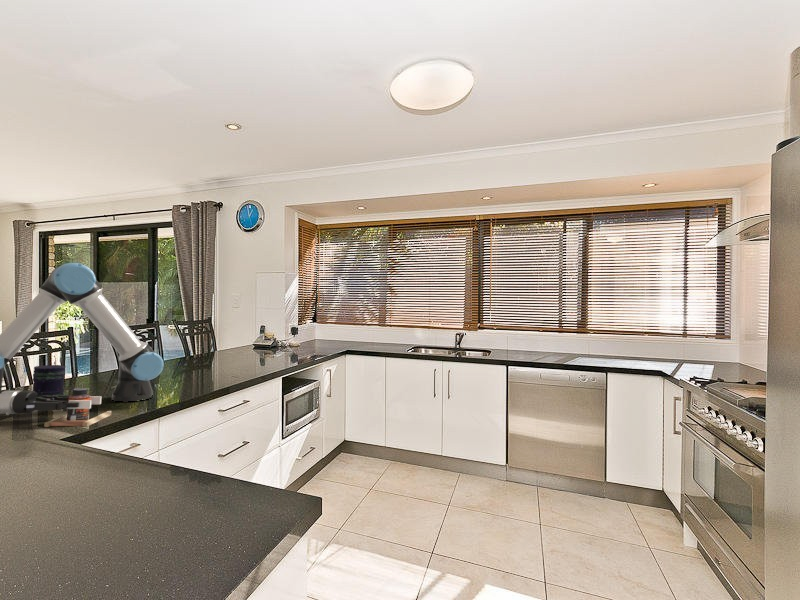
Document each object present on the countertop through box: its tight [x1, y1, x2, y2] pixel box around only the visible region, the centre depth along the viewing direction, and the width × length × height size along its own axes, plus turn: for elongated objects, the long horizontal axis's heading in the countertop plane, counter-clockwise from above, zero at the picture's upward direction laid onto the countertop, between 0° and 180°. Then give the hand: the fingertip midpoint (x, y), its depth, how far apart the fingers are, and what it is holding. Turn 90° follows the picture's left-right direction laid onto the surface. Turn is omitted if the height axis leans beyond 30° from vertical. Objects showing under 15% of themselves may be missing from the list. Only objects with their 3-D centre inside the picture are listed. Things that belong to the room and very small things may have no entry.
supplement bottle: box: [66, 387, 91, 420], centre depth 139 cm, size 6×6×11 cm
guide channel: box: [43, 410, 112, 428], centre depth 140 cm, size 16×12×1 cm
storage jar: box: [32, 364, 66, 397], centre depth 161 cm, size 10×10×15 cm
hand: (95, 402), depth 140 cm, fingers closed on supplement bottle, 6 cm apart
